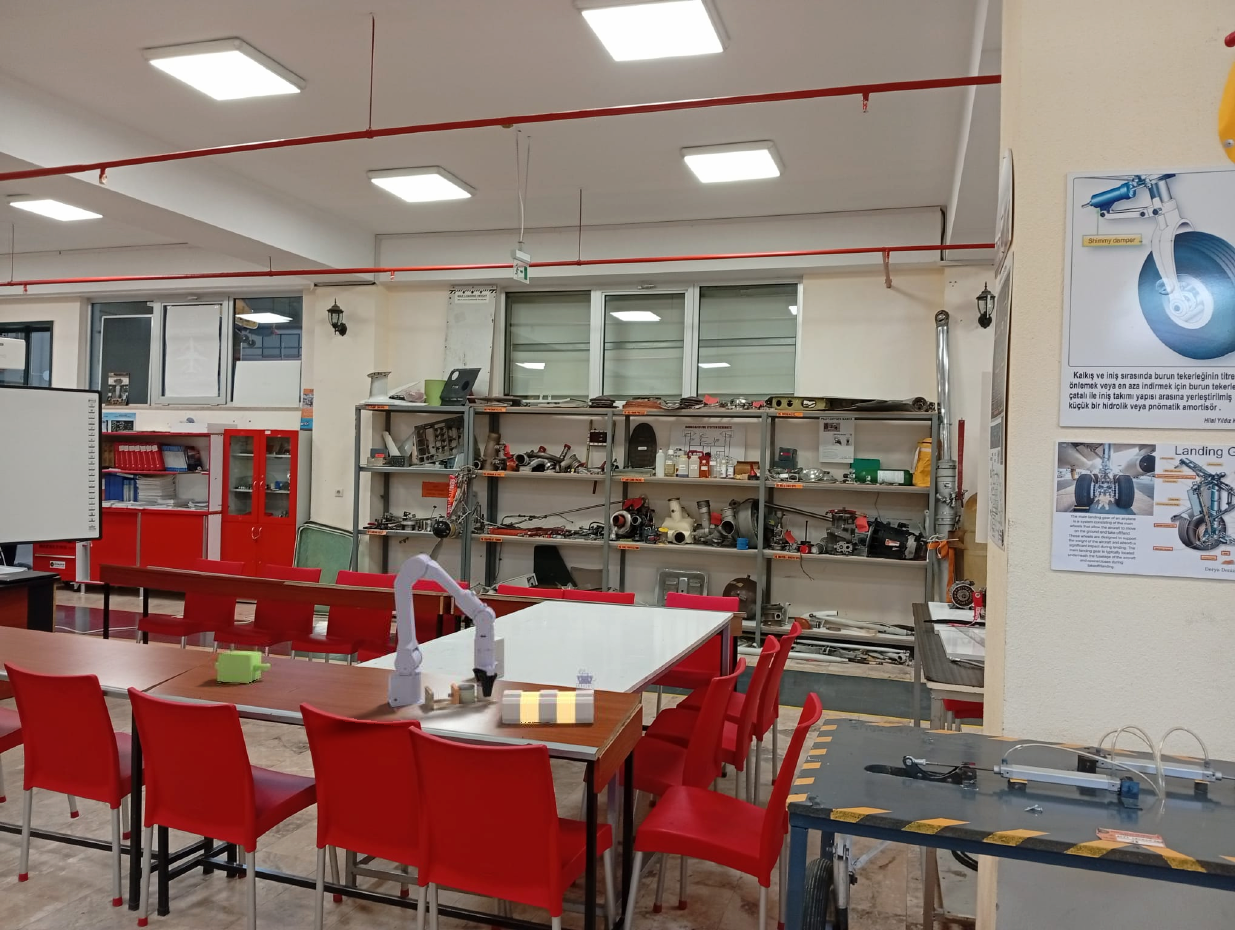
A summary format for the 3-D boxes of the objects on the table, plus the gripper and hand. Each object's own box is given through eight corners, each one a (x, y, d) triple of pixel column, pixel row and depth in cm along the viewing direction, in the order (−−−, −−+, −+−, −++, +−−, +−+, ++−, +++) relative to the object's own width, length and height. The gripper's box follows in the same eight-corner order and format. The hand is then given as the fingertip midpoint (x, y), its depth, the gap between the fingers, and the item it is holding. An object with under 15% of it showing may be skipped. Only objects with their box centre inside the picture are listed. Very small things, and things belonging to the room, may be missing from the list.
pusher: (450, 707, 254) (450, 689, 254) (446, 701, 260) (445, 684, 260) (459, 706, 255) (458, 688, 255) (454, 700, 261) (454, 683, 261)
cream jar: (478, 702, 258) (478, 685, 258) (474, 698, 262) (474, 681, 262) (495, 700, 260) (495, 683, 260) (491, 696, 264) (490, 680, 264)
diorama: (594, 714, 249) (594, 668, 249) (593, 724, 239) (593, 677, 239) (506, 715, 249) (506, 669, 249) (501, 725, 239) (501, 677, 239)
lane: (430, 713, 250) (430, 693, 250) (424, 704, 259) (424, 685, 259) (499, 705, 257) (499, 686, 257) (490, 697, 267) (490, 679, 267)
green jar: (459, 705, 255) (459, 688, 256) (455, 701, 260) (455, 684, 260) (476, 703, 258) (476, 686, 258) (472, 699, 262) (472, 683, 262)
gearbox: (276, 679, 294) (277, 650, 294) (261, 685, 284) (262, 655, 284) (225, 676, 296) (226, 648, 296) (208, 682, 286) (210, 653, 286)
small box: (473, 677, 292) (473, 638, 292) (485, 673, 298) (485, 635, 298) (493, 680, 288) (493, 640, 288) (504, 676, 294) (504, 637, 294)
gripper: (504, 652, 256) (504, 698, 256) (491, 643, 269) (492, 687, 269) (480, 654, 253) (480, 701, 253) (469, 645, 267) (469, 689, 266)
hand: (485, 694), depth 261 cm, fingers closed on cream jar, 5 cm apart
